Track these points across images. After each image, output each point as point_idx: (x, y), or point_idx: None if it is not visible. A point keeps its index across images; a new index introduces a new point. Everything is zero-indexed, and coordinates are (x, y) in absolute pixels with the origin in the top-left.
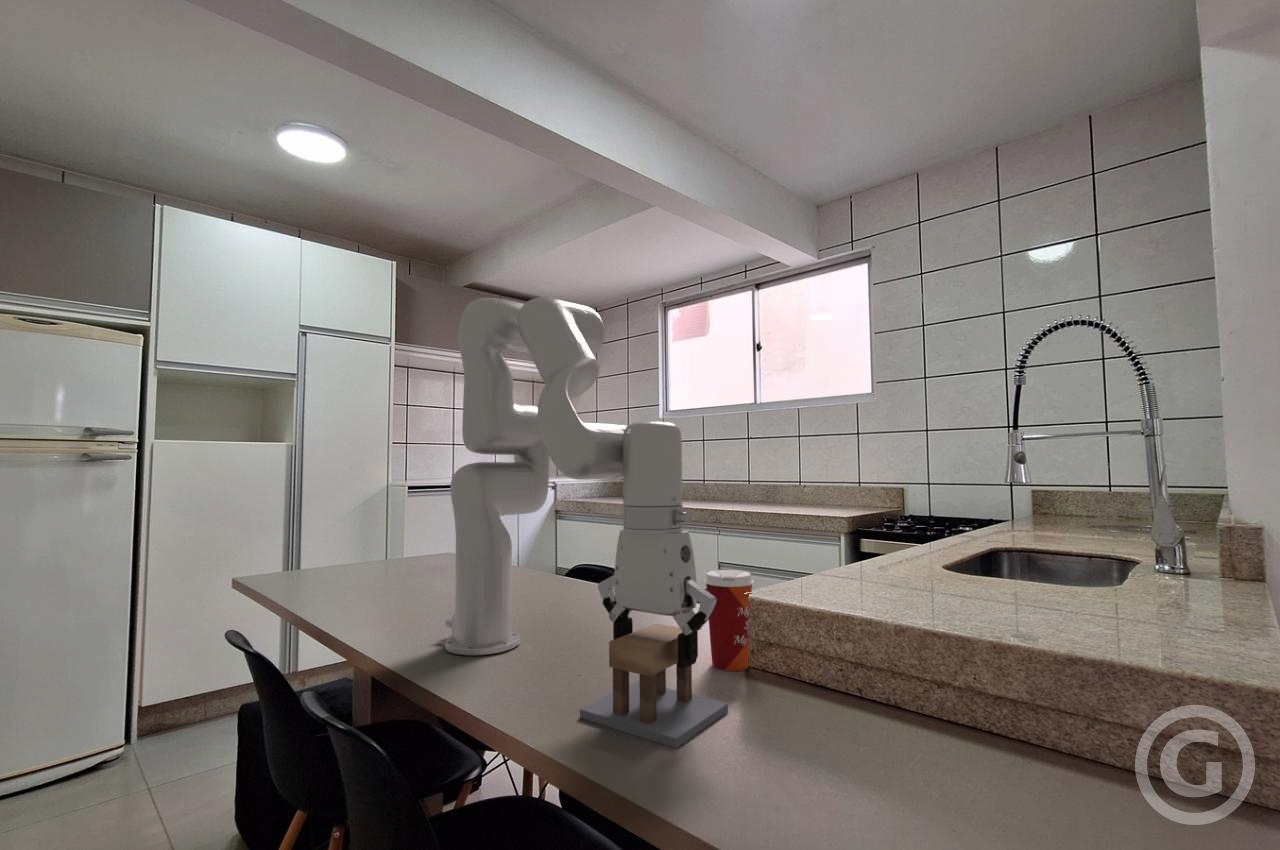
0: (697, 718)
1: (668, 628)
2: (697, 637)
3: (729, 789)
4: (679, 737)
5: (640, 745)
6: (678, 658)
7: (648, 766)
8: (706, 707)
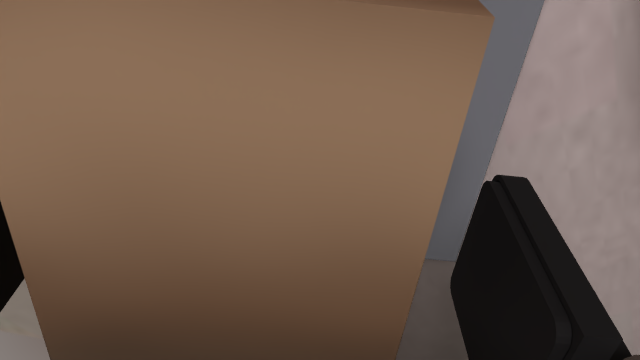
0: (477, 117)
1: (191, 76)
2: (621, 342)
3: (618, 330)
4: (459, 245)
5: None
6: (461, 319)
7: (418, 326)
8: (485, 1)
